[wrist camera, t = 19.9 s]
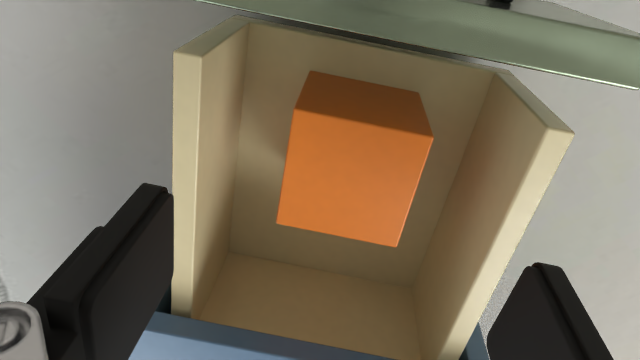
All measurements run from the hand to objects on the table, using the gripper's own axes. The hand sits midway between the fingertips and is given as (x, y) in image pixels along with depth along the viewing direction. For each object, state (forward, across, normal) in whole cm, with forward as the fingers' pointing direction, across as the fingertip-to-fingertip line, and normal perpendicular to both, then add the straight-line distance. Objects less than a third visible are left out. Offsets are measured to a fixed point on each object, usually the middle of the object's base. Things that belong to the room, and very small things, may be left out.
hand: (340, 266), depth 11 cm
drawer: (+9, 0, -2) cm, 9 cm away
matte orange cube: (+8, 0, 0) cm, 8 cm away
